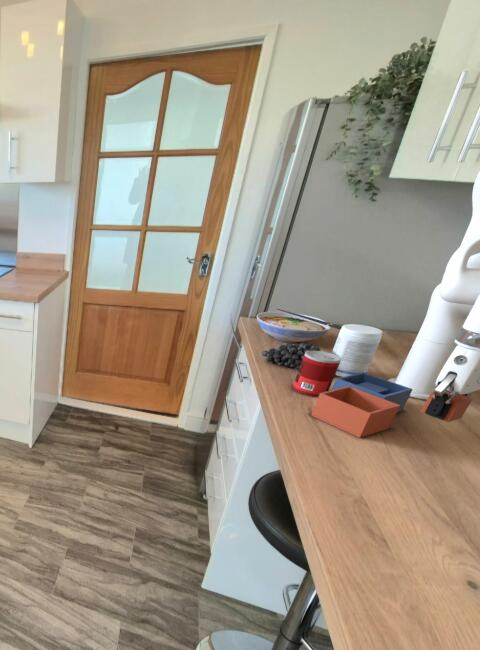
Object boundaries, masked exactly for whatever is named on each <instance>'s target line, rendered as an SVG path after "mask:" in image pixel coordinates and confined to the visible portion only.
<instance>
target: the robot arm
mask: <svg viewBox="0 0 480 650" xmlns="http://www.w3.org/2000/svg"><path fill="white" fill-rule="evenodd" d="M471 205H472V212H471V213H472V214H471V216H472V217H471V219H470V222H469V223H468V227H467V229H466V231H465V233H464V236H463V239H462V240H461V242H460V243H461V244H460V246H459V247H458V248H457V249H456V250H455V251H454V252H453V254H452V255H451V257H449V260H448V262H447V265H446V267H445V270H444V273H443V276H442V279H441V282H440V283H439V284H438V285H436V287H435V288H434V289H433V291H432V294H431V296H430V300H429V305H428V307H427V310H426V315H425V317H424V320H423V321H422V324H421V327H420V329H419V330H418V333H417V335H416V337H415V339H414V341H413V343H412V346H411V348H410V350H409V352H408V354H407V356H406V358H405V360H404V362H403V364H402V365H401V366H402V367H401V368H400V370H399V373H398V375H397V376H396V377H392V378H389V379H387V380H388V381H390V382H393V383H396V384H399V385H402V386H405V387H408V388H411V389H413V390H412V392H411V394H410V396H409V398H410V397H411V398H414V399H419V400H425V401H427V399H428V397H429V396H430V394H431V393H433V392H434V396H433V397H432V400H431V402H430V404H429V405H428V407H427V409H426V411H425V413H424V414H426V415H428V416H430V417H432V418H436V419H438V420H441V419H444V418H445V416H446V414H447V413H448V411H449V409H450V407H451V406H452V404H450V403H451V402H452V400H453V399H454V397H455V396H456V395H457V393H458V394H461V395H464V396H467V397H470V396H471V394H472V393H473V392H476V391H478V390H480V170H479V171H478V173H477V176H476V177H475V180H474V183H473V186H472V194H471ZM450 387H452V388H450ZM446 391H448V392H451V394H450V396H449V397H448V394H446Z"/></svg>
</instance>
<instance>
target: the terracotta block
mask: <svg viewBox="0 0 480 650" xmlns="http://www.w3.org/2000/svg"><path fill="white" fill-rule="evenodd" d="M446 394H448V397H449V396H450V394H451V392H448V391H446ZM433 396H434V392H433V393H431V394H430V396H429V397H428V399H427V400H425V403H424V404H423V406H422V408H421V410H420V412H421V413H422V414H425V411H426V409H427V407H428V405H429V404H430V402H431V400H432V397H433ZM472 401H473V398H472V397H470V396H469V397H467V396H464V395H461V394H458V393H457V395H456V396H455V397H454V399H453V400H452V402H451V403H450V404H452V406H451V407H450V409H449V411H448V413H447V414H446V416H445V418H444V419H440V420H442V421H444V422H446V423H451V422H454V421H456V420H459V419H461V418H463V417H464V414H465V413H466V411H467V409H468V408H469V407H470V404H471V403H472Z"/></svg>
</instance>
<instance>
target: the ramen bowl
mask: <svg viewBox="0 0 480 650" xmlns="http://www.w3.org/2000/svg"><path fill="white" fill-rule="evenodd" d="M276 310H277V311H264V312H259V313H257V314H256V320H257V322H258V325H259V327H260V328H261V330H262V331H264V333H265V334H267V335H268V336H271V337H272V338H274V339H276V340H278V341H280V342H284V343H292V344H293V343H298V342H308V341H312V340H316V339H318V338H319V337H321V336H323V335H325V334H326V333H327V332H328V331H329V330H331V328H333V329H337V330H341V328H342V326H343V325H338V324H335V323H331V322H328V321H326V320H323V319H321V318H318V317H315V316H311V315H307V314H301V313H295V312H291V311H287V310H284V309H281V308H276Z"/></svg>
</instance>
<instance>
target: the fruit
mask: <svg viewBox="0 0 480 650" xmlns="http://www.w3.org/2000/svg"><path fill="white" fill-rule="evenodd" d="M307 351H321V348H320V347H318V346H315V345H314V344H313V343H306V342H301V343H300V344H298V343H296V344H293V342H292V343H291V342H286V344H280V345H279V347H276V348H274V347H271V348H270V349H269V350H262V352H261V355H262V357H266V358H265V360H266V362H268V363H273V364H278V366H280V367H282V366H286V367H290V368H294V369H295V370H297V371H299V368H300V365H301V363H302V360H303V357H304V355H305V353H306V352H307Z"/></svg>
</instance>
